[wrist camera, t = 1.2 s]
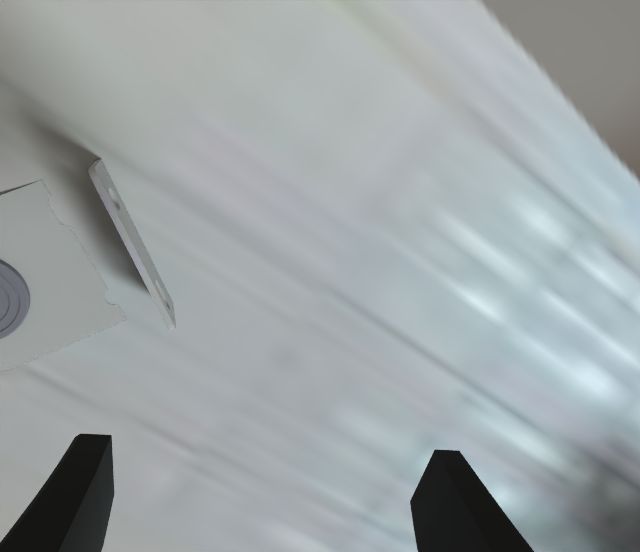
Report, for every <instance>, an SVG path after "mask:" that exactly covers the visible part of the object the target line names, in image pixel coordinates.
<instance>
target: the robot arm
mask: <svg viewBox="0 0 640 552" xmlns="http://www.w3.org/2000/svg"><path fill="white" fill-rule="evenodd" d="M113 498H114V479H113V458H112V437H111V435H98V434H79V435H78V436H76V437H75V438H74V440H73V441H72V443H71V445H70V446H69V448H68V450H67V451H66V453H65V454H64V456H63V457H62V459H61V460H60V462H59V464H58V465H57V467H56V468H55V469H54V471H53V472H52V474H51V475H50V477H49V478H48V480H47V481H46V482H45V484H44V485H43V487H42V488H41V490H40V491H39V492H38V494H37V495H36V497H35V498H34V499H33V501H32V502H31V503H30V505H29V506H28V507H27V509H26V510H25V511H24V512H23V514H22V515H21V516H20V518H19V519H18V520H17V522H16V523H15V524H14V526H13V527H12V528H11V530H10V531H9V532H8V534H7V535H6V536H5V537H4V539H3V540H2V541H1V542H0V552H101V550H102V547H103V544H104V539H105V535H106V530H107V526H108V521H109V516H110V512H111V507H112V502H113ZM410 504H411V511H412V518H413V525H414V531H415V537H416V543H417V549H418V552H534V551H533V550H532V548H531V547H530V546H529V544H528V543H527V542H526V541H525V539H524V538H523V537H522V535H521V534H520V533H519V531H518V530H517V529H516V528H515V526H514V525H513V524H512V522H511V521H510V520H509V518H508V517H507V516H506V514H505V513H504V512H503V510H502V509H501V508H500V506H499V505H498V504H497V502H496V501H495V499H494V498H493V497H492V495H491V494H490V493H489V491H488V490H487V488H486V487H485V486H484V484H483V483H482V482H481V480H480V479H479V477H478V476H477V475H476V473H475V472H474V470H473V469H472V468H471V466H470V465H469V464H468V462H467V461H466V460H465V458H464V457H463V455H462V454H461V453H460V451H453V450H434V453H433V455H432V457H431V459H430V461H429V463H428V465H427V467H426V469H425V471H424V474H423V476H422V478H421V480H420V482H419V484H418V486H417V488H416V490H415V492H414V495H413V497H412V499H411V501H410Z"/></svg>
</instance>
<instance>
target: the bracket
mask: <svg viewBox="0 0 640 552" xmlns="http://www.w3.org/2000/svg"><path fill="white" fill-rule="evenodd" d="M88 173H89V175H90V178H91V180H92V182H93V184H94V185H95V187H96V189H97V191H98V193H99V195H100V197H101V199H102V201H103V203H104V205H105V207H106V209H107V211H108V213H109V215H110V217H111V219H112V220H113V222H114V224H115V226H116V228H117V230H118V232H119V234H120V236H121V238H122V240H123V242H124V244H125V246H126V248H127V250H128V252H129V254H130V255H131V257H132V259H133V261H134V263H135V265H136V267H137V269H138V271H139V273H140V275H141V277H142V279H143V281H144V283H145V285H146V287H147V288H148V290H149V292H150V294H151V296H152V298H153V300H154V302H155V304H156V306H157V308H158V310H159V312H160V314H161V316H162V318H163V320H164V322H165V323H166V325H167V327H168V329H169V330H172V329H174V328H176V322H175V315H174V307H173V302H172V300H171V298H170V296H169V294H168V292H167V290H166V288H165V286H164V284H163V282H162V280H161V278H160V276H159V274H158V272H157V270H156V268H155V266H154V264H153V262H152V260H151V258H150V256H149V254H148V252H147V250H146V248H145V246H144V244H143V242H142V240H141V238H140V236H139V234H138V232H137V230H136V228H135V226H134V224H133V222H132V220H131V218H130V216H129V213H128V211H127V209H126V207H125V205H124V203H123V201H122V199H121V197H120V195H119V193H118V191H117V189H116V187H115V185H114V183H113V181H112V179H111V177H110V175H109V173H108V171H107V169H106V167H105V165H104V163H103V161H102V159H99V160H96V161H95V162H94V163H93V164H92V165H91V167H90V168H89V169H88ZM50 196H51V194H50V192H49V190H48V189H47V187H46V185H45V184H44V182H43V181H42V180H41V181H38V182H35V183H32V184H30V185H27V186H24V187H21V188H18V189H16V190H13V191H10V192H7V193H4V194H2V195H0V371H3V370H7V369H11V368H14V367H17V366H20V365H23V364H25V363H27V362H30V361H32V360H34V359H37V358H39V357H42V356H44V355H46V354H49V353H51V352H53V351H56V350H58V349H60V348H63V347H65V346H67V345H70V344H72V343H74V342H77V341H79V340H82V339H84V338H86V337H89V336H91V335H93V334H96V333H98V332H100V331H103V330H105V329H107V328H110V327H112V326H114V325H117V324H119V323H122V322H124V321H126V320H127V318H126V317H125V315H124V313H123V312H122V310H121V308H120V307H119V305H118V304H117V305H112V304H109V303H108V302H106V300H105V298H104V293H105V291H106V290H107V289H108V287H107V286H106V284H105V282H104V281H103V279H102V277H101V276H100V274H99V272H98V271H97V269H96V267H95V266H94V264H93V263H92V261H91V259H90V258H89V256H88V254H87V253H86V251H85V249H84V248H83V246H82V245H81V243H80V241H79V240H78V238H77V236H76V235H75V233H74V231H73V230H72V228H71V226H65V225H63V224H61V223H60V222H59V221H58V219H57V217H56V216H55V214H54V212H53V210H52V209H51V207H50V204H49V198H50Z"/></svg>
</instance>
